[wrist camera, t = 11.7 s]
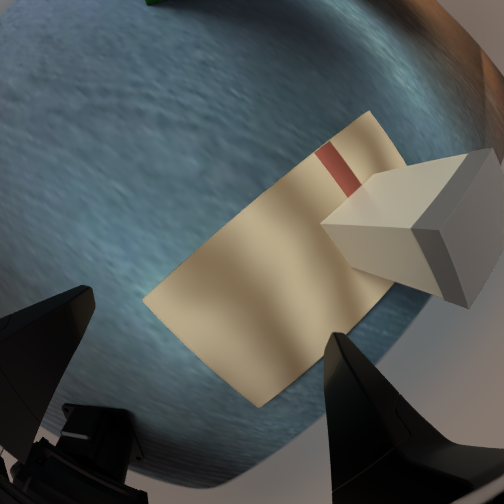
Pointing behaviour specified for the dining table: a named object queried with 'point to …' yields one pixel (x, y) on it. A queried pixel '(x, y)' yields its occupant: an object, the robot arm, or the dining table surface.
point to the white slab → (427, 225)
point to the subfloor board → (279, 272)
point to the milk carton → (152, 1)
